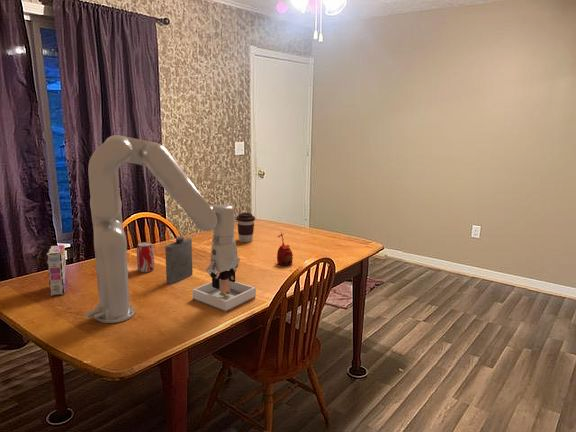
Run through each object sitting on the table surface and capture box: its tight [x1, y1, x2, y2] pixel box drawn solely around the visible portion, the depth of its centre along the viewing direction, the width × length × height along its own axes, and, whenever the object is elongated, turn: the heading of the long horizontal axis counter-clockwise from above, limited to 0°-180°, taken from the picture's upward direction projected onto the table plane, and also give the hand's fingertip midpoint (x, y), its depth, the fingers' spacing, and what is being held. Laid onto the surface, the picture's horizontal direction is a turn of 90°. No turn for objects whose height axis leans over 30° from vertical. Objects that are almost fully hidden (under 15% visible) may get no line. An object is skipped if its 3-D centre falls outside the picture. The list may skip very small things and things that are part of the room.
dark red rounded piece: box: [276, 231, 294, 266], centre depth 200 cm, size 8×7×15 cm
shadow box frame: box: [192, 280, 257, 313], centre depth 162 cm, size 16×17×4 cm
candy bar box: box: [46, 244, 68, 297], centre depth 164 cm, size 11×5×16 cm, turn 21°
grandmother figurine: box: [218, 270, 234, 296], centre depth 160 cm, size 8×4×13 cm, turn 140°
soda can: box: [136, 241, 155, 273], centre depth 187 cm, size 7×7×12 cm
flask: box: [164, 236, 194, 285], centre depth 178 cm, size 4×14×18 cm, turn 152°
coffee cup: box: [236, 212, 256, 243], centre depth 235 cm, size 10×10×15 cm
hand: (223, 284), depth 161 cm, fingers closed on grandmother figurine, 7 cm apart
